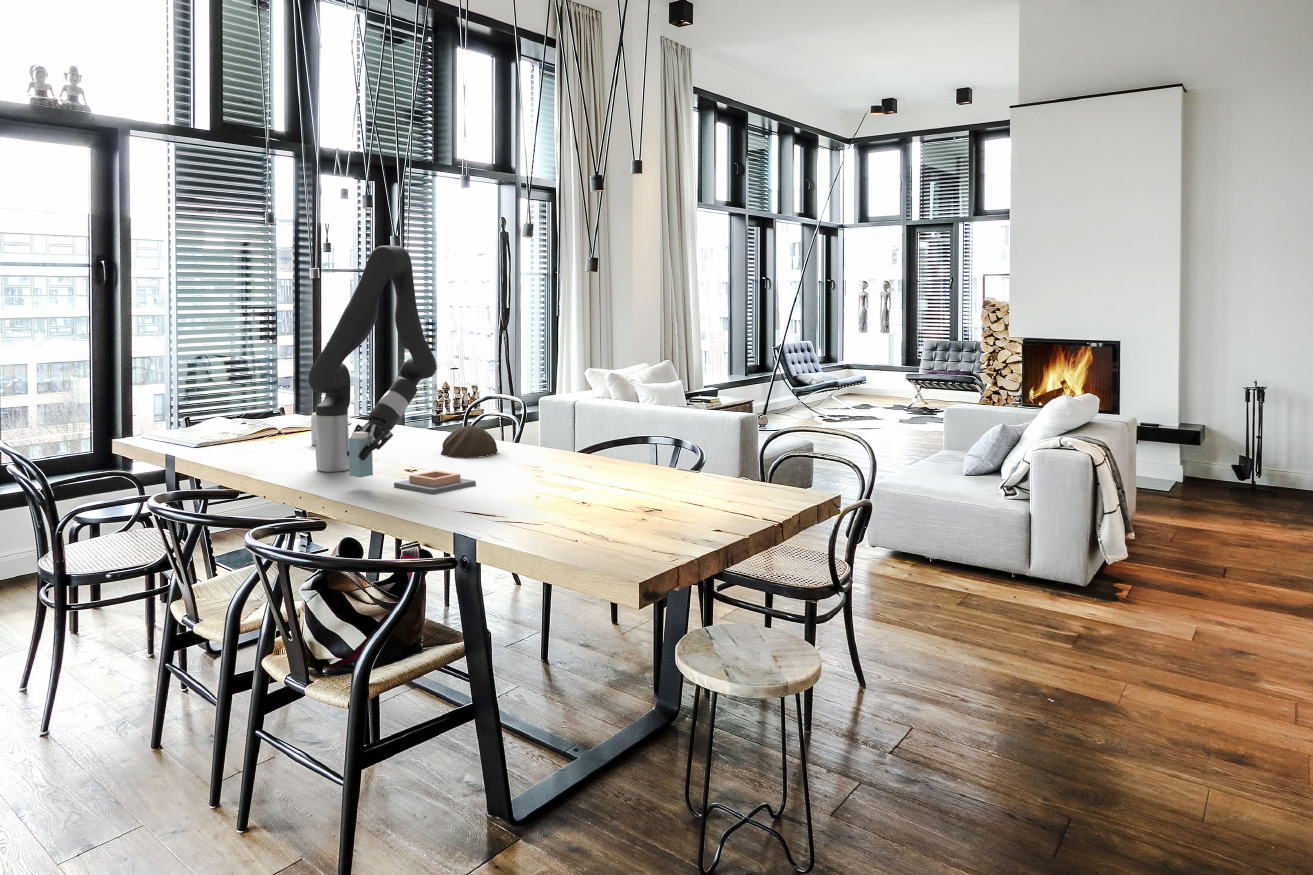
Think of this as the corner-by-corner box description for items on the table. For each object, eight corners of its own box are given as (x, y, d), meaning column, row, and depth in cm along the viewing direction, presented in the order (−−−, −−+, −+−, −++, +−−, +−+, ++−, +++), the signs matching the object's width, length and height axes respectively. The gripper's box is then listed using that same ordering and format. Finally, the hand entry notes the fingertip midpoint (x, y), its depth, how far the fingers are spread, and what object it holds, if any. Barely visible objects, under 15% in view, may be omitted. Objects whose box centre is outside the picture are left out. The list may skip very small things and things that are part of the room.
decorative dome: (510, 453, 314) (509, 424, 313) (468, 460, 298) (467, 430, 297) (471, 447, 325) (470, 420, 324) (428, 454, 309) (428, 425, 308)
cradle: (394, 486, 253) (393, 475, 252) (437, 478, 266) (436, 467, 266) (433, 494, 244) (432, 482, 244) (475, 484, 257) (475, 473, 257)
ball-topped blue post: (349, 475, 249) (348, 432, 247) (362, 473, 253) (361, 431, 251) (359, 477, 247) (358, 434, 245) (372, 475, 250) (371, 432, 248)
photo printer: (339, 442, 331) (338, 409, 329) (342, 443, 328) (341, 410, 326) (310, 444, 326) (309, 410, 324) (313, 446, 322) (311, 411, 320)
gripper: (364, 399, 257) (330, 446, 248) (398, 404, 249) (363, 452, 241) (380, 416, 262) (346, 462, 254) (413, 421, 254) (379, 469, 246)
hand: (355, 457), depth 247 cm, fingers closed on ball-topped blue post, 4 cm apart
